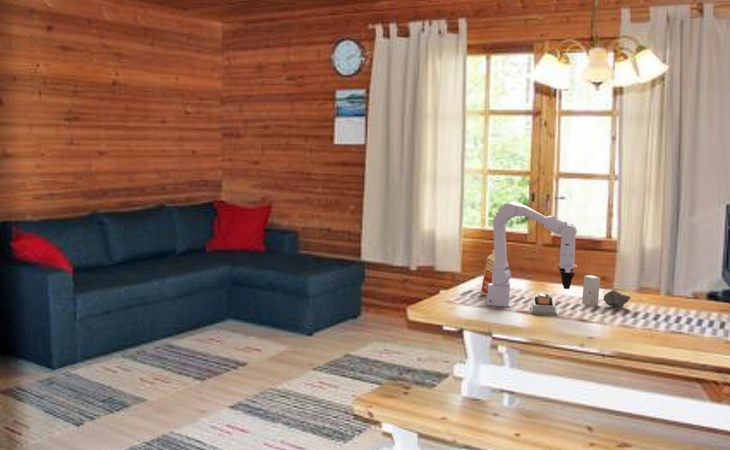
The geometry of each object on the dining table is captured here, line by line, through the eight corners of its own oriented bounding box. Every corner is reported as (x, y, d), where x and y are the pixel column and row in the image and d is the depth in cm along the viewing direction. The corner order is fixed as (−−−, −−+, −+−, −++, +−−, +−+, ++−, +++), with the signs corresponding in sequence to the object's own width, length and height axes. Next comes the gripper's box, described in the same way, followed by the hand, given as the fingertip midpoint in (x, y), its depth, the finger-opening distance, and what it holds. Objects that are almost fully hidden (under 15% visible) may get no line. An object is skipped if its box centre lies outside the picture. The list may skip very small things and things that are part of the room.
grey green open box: (531, 313, 285) (531, 301, 285) (530, 307, 296) (531, 295, 296) (556, 315, 283) (557, 303, 283) (555, 309, 294) (555, 297, 294)
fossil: (631, 307, 299) (633, 289, 298) (628, 312, 291) (629, 293, 290) (604, 304, 304) (605, 286, 303) (600, 308, 297) (601, 289, 296)
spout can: (538, 310, 288) (538, 294, 287) (536, 307, 292) (537, 292, 292) (550, 310, 287) (550, 295, 286) (548, 307, 292) (549, 292, 291)
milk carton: (480, 293, 323) (481, 250, 320) (497, 291, 327) (498, 249, 324) (491, 297, 315) (493, 253, 312) (508, 295, 318) (510, 252, 316)
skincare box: (581, 302, 307) (583, 275, 305) (590, 302, 308) (591, 274, 307) (590, 305, 301) (591, 278, 300) (599, 305, 302) (600, 277, 301)
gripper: (579, 257, 279) (577, 291, 280) (576, 251, 293) (574, 284, 295) (560, 256, 280) (559, 290, 282) (558, 251, 294) (557, 283, 296)
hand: (565, 286), depth 288 cm, fingers open, 7 cm apart
